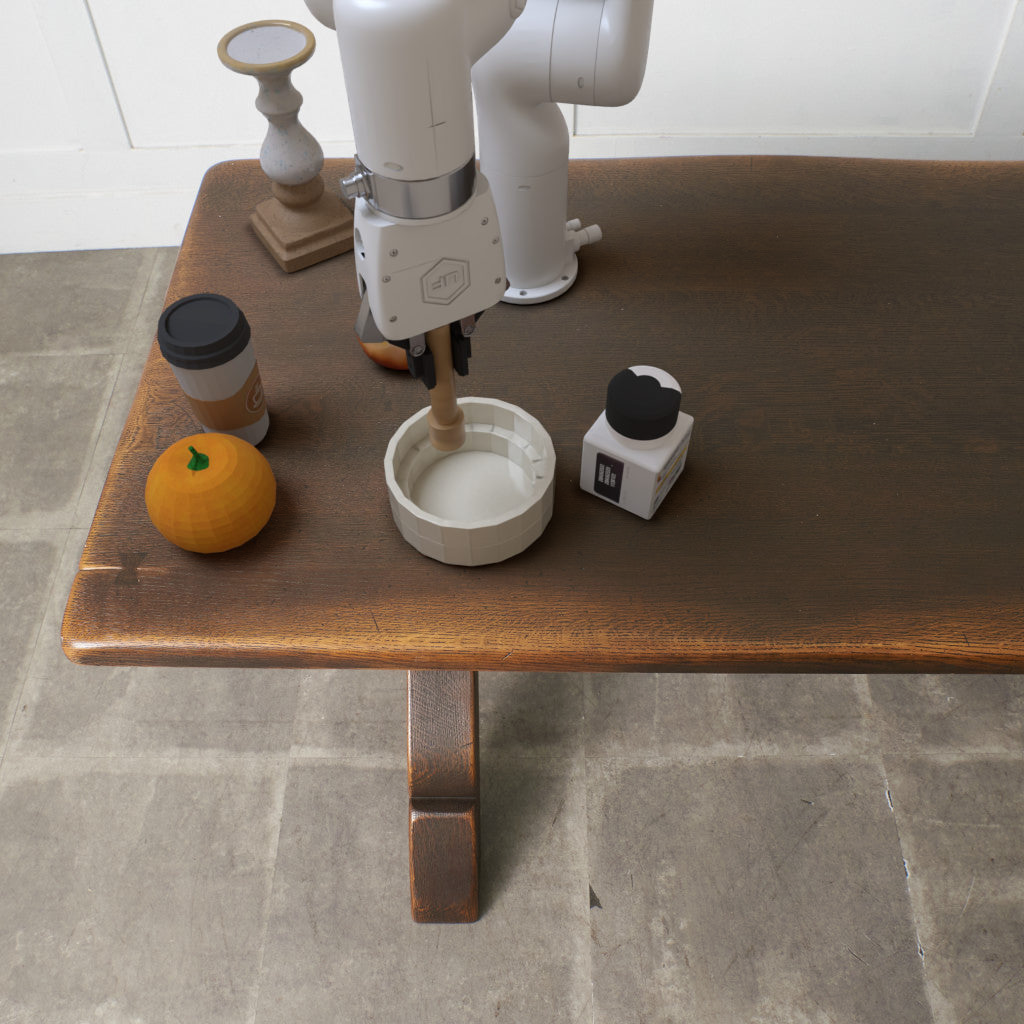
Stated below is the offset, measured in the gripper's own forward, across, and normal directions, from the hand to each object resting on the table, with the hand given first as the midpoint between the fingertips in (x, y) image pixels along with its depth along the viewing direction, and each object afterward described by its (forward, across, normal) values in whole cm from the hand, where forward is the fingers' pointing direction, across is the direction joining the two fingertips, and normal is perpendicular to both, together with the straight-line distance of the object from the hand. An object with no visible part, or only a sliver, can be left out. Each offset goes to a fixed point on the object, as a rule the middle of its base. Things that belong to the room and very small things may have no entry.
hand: (440, 370), depth 75 cm
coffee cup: (+19, -15, +19) cm, 31 cm away
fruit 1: (+18, -20, +9) cm, 29 cm away
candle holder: (+19, +2, +46) cm, 50 cm away
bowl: (+18, +2, -1) cm, 18 cm away
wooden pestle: (+9, 0, 0) cm, 9 cm away
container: (+19, +17, -6) cm, 26 cm away
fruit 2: (+19, +4, +21) cm, 29 cm away
